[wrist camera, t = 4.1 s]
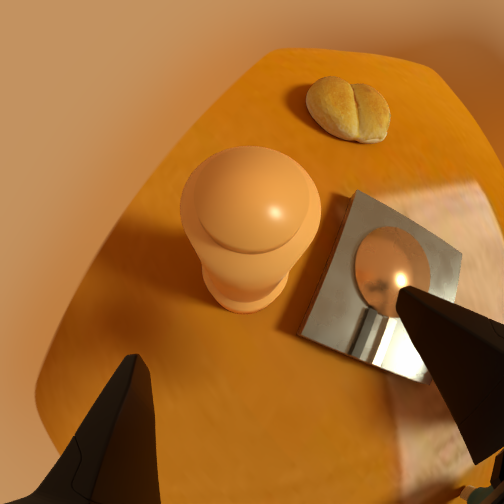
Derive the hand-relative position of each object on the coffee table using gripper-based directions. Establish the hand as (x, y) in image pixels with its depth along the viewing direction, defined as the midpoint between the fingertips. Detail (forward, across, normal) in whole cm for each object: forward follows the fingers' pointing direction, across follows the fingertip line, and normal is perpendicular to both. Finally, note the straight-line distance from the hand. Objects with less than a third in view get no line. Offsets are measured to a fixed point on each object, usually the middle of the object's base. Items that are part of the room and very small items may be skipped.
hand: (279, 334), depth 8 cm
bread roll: (+21, -14, -5) cm, 26 cm away
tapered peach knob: (+10, 0, +5) cm, 11 cm away
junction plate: (+8, -11, +8) cm, 15 cm away
